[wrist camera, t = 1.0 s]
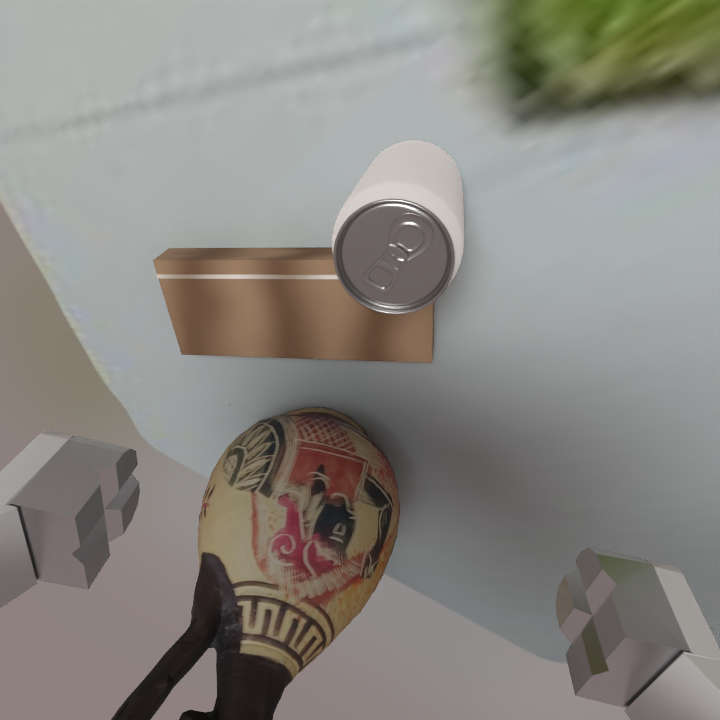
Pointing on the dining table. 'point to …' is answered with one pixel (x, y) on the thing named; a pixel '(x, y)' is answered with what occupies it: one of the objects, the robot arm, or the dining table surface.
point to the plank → (281, 308)
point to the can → (401, 229)
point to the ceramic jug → (280, 559)
